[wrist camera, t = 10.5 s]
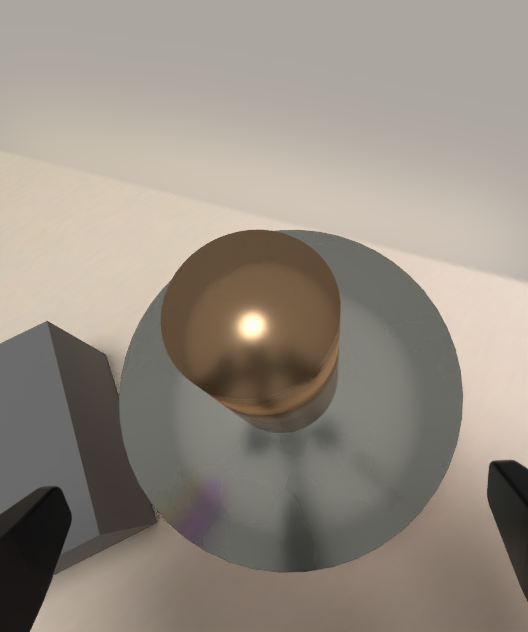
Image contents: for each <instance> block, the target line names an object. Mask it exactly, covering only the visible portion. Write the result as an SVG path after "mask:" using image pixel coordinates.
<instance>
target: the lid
mask: <svg viewBox="0 0 528 632" xmlns="http://www.w3.org/2000/svg"><path fill="white" fill-rule="evenodd" d="M462 403H463V391H462V380H461V370H460V366H459V362H458V358H457V354H456V349H455V346H454V344H453V341H452V339H451V336H450V333H449V331H448V328H447V326H446V324H445V323H444V321H443V319H442V317H441V315H440V313H439V312H438V310H437V308H436V307H435V305H434V304H433V302H432V301H431V300H430V298H429V297H428V296H427V294H426V293H425V292H424V290H423V289H422V288H421V287H420V286H419V285H418V284H417V283H416V282H415V281H414V280H413V279H412V278H411V277H410V276H409V275H408V274H407V273H406V272H405V271H403V270H402V269H401V268H400V267H399V266H397V265H396V264H395V263H394V262H392V261H391V260H389V259H388V258H386V257H384V256H383V255H381V254H380V253H378V252H376V251H375V250H373V249H370V248H368V247H366V246H364V245H362V244H360V243H358V242H355V241H352V240H349V239H346V238H343V237H340V236H336V235H332V234H327V233H322V232H315V231H305V230H280V231H268V230H247V231H240V232H235V233H231V234H228V235H225V236H222V237H220V238H217V239H215V240H213V241H211V242H209V243H208V244H206V245H204V246H203V247H201V248H200V249H198V250H197V251H196V252H195V253H193V254H192V255H191V256H190V257H189V258H188V259H187V260H186V261H185V262H184V263H183V264H182V266H181V267H180V268H179V269H178V271H177V272H176V273H175V275H174V277H173V278H172V280H171V281H170V282H169V283H168V284H167V285H166V286H165V287H164V288H163V289H162V290H161V292H160V293H159V294H158V295H157V297H156V298H155V299H154V300H153V302H152V303H151V304H150V306H149V308H148V309H147V311H146V312H145V314H144V316H143V317H142V319H141V320H140V322H139V325H138V327H137V329H136V331H135V333H134V335H133V337H132V339H131V342H130V345H129V348H128V351H127V354H126V357H125V361H124V366H123V370H122V375H121V382H120V394H119V412H120V425H121V431H122V437H123V442H124V446H125V449H126V452H127V456H128V459H129V462H130V465H131V467H132V469H133V471H134V474H135V476H136V478H137V480H138V482H139V484H140V486H141V488H142V489H143V491H144V492H145V494H146V496H147V497H148V499H149V500H150V502H151V503H152V505H153V506H154V507H155V508H156V509H157V511H158V512H159V513H160V514H161V515H162V516H163V518H164V519H165V520H166V521H167V522H168V523H169V524H170V525H171V526H172V527H173V528H175V529H176V530H177V531H178V532H179V533H180V534H181V535H183V536H184V537H185V538H186V539H188V540H189V541H191V542H192V543H194V544H195V545H197V546H198V547H200V548H202V549H203V550H205V551H206V552H208V553H211V554H213V555H215V556H217V557H219V558H221V559H224V560H226V561H228V562H231V563H234V564H238V565H241V566H245V567H248V568H252V569H257V570H265V571H273V572H307V571H313V570H318V569H324V568H330V567H334V566H337V565H340V564H342V563H345V562H348V561H351V560H354V559H357V558H359V557H361V556H363V555H365V554H367V553H369V552H370V551H372V550H374V549H376V548H378V547H380V546H382V545H383V544H384V543H386V542H387V541H388V540H390V539H391V538H393V537H394V536H395V535H397V534H398V533H399V532H401V531H402V530H403V529H404V528H405V527H406V526H407V525H408V524H409V523H410V522H411V521H412V520H413V519H414V518H415V517H416V516H417V515H418V514H419V513H420V512H421V511H422V510H423V508H424V507H425V505H426V504H427V503H428V501H429V500H430V499H431V497H432V496H433V495H434V493H435V492H436V490H437V489H438V487H439V485H440V483H441V481H442V479H443V477H444V475H445V473H446V472H447V470H448V468H449V465H450V462H451V459H452V456H453V454H454V451H455V448H456V445H457V441H458V436H459V431H460V426H461V420H462Z"/></svg>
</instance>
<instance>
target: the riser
mask: <svg viewBox="0 0 528 632" xmlns="http://www.w3.org/2000/svg"><path fill="white" fill-rule="evenodd" d="M44 486H58V487H60V488H61V489H62V491H63V493H64V496H65V498H66V501H67V503H68V505H69V508H70V510H71V513H72V522H71V526H70V529H69V532H68V535H67V538H66V541H65V543H64V546H63V549H62V552H61V555H60V557H59V560H58V563H57V566H56V569H55V571H54V574H53V575H55V574H57V573H58V572H60V571H62V570H64V569H66V568H68V567H70V566H72V565H74V564H76V563H78V562H80V561H82V560H84V559H86V558H88V557H90V556H92V555H94V554H96V553H98V552H100V551H102V550H104V549H106V548H108V547H110V546H112V545H114V544H116V543H118V542H120V541H122V540H124V539H126V538H128V537H130V536H132V535H134V534H136V533H138V532H140V531H142V530H144V529H145V528H147V527H149V526H151V525H153V524H155V523H157V522H156V519H155V515H154V512H153V509H152V506H151V502H150V500H149V499H148V497H147V496H146V494H145V492H144V491H143V489H142V488H141V486H140V484H139V482H138V480H137V478H136V476H135V474H134V471H133V469H132V467H131V465H130V462H129V459H128V456H127V452H126V449H125V446H124V442H123V437H122V431H121V425H120V412H119V397H118V394H117V390H116V387H115V384H114V381H113V377H112V374H111V371H110V367H109V364H108V361H107V358H106V354H104V353H102V352H100V351H99V350H97V349H95V348H93V347H92V346H90V345H88V344H86V343H85V342H83V341H81V340H79V339H78V338H76V337H74V336H72V335H71V334H69V333H67V332H65V331H64V330H62V329H60V328H59V327H57V326H55V325H53V324H52V323H50V322H48V321H46V322H44V323H42V324H40V325H38V326H36V327H34V328H32V329H29V330H27V331H25V332H23V333H21V334H19V335H17V336H15V337H13V338H11V339H9V340H7V341H5V342H3V343H1V344H0V514H1V513H3V512H4V511H6V510H7V509H8V508H10V507H11V506H13V505H14V504H16V503H17V502H19V501H20V500H21V499H23V498H24V497H26V496H27V495H29V494H30V493H32V492H33V491H34V490H36V489H37V488H40V487H44Z"/></svg>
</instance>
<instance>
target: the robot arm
mask: <svg viewBox="0 0 528 632" xmlns="http://www.w3.org/2000/svg"><path fill="white" fill-rule="evenodd" d="M487 497H488V502H489V506H490V508H491V511H492V514H493V516H494V519H495V521H496V524H497V527H498V529H499V532H500V535H501V537H502V540H503V542H504V545H505V548H506V550H507V553H508V555H509V558H510V561H511V563H512V566H513V569H514V571H515V574H516V576H517V579H518V581H519V584H520V586H521V588H522V591H523V593H524V595H525V597H526V599H527V601H528V469H527V468H526V467H524V466H523V465H521V464H520V463H518V462H516V461H514V460H496V461H492V462H491V463H490V465H489V474H488V488H487ZM71 522H72V513H71V510H70V508H69V505H68V503H67V501H66V498H65V496H64V493H63V491H62V489H61V488H60V487H58V486H44V487H40V488H37V489H36V490H34V491H33V492H32V493H30V494H29V495H27V496H26V497H24V498H23V499H21V500H20V501H19V502H17V503H16V504H14V505H13V506H11V507H10V508H8V509H7V510H6V511H4V512H3V513H1V514H0V632H30V630H31V628H32V626H33V623H34V621H35V619H36V617H37V615H38V612H39V610H40V608H41V606H42V603H43V601H44V599H45V596H46V593H47V591H48V588H49V586H50V583H51V580H52V577H53V574H54V571H55V569H56V566H57V563H58V560H59V557H60V555H61V552H62V549H63V546H64V543H65V541H66V538H67V535H68V532H69V529H70V526H71Z"/></svg>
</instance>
